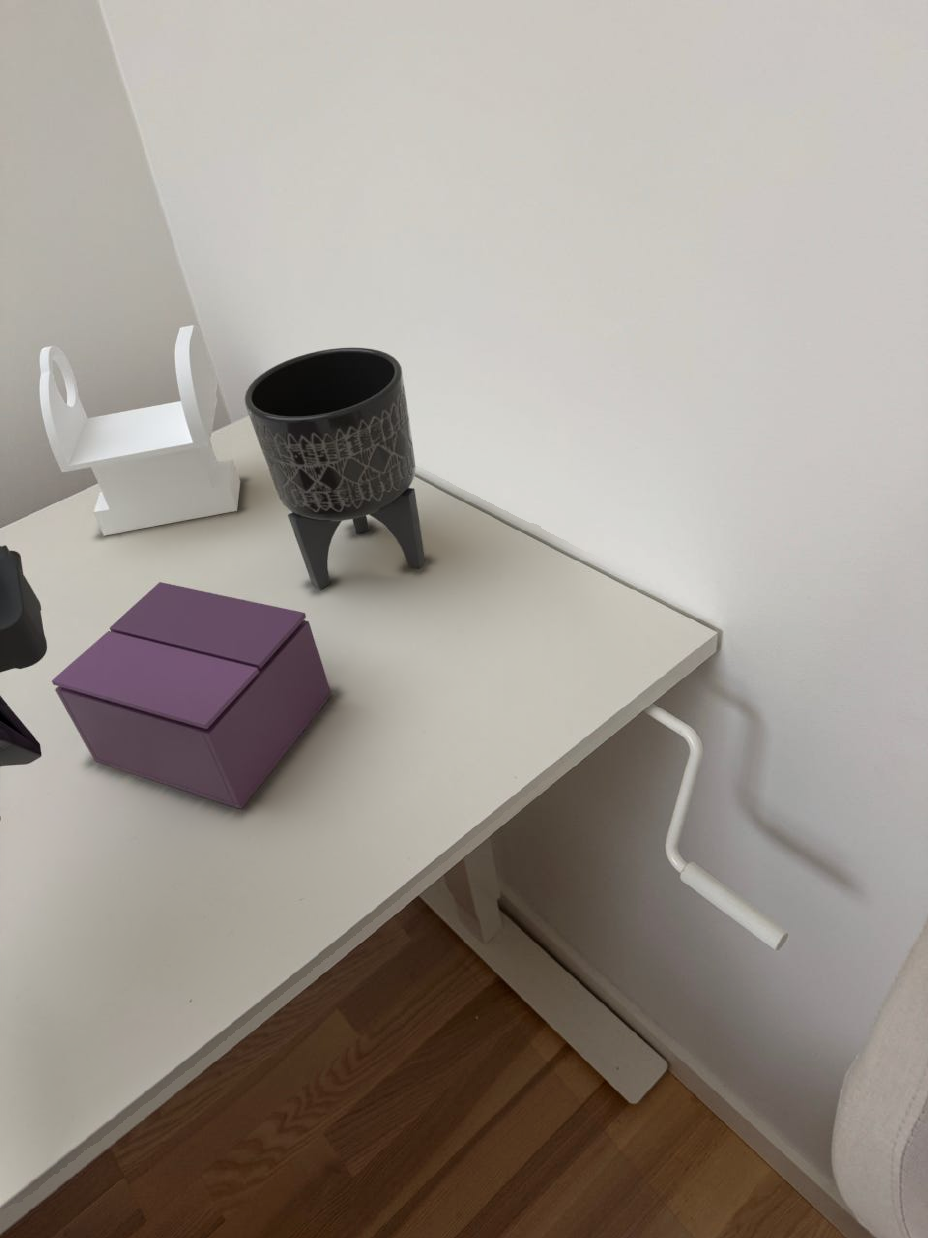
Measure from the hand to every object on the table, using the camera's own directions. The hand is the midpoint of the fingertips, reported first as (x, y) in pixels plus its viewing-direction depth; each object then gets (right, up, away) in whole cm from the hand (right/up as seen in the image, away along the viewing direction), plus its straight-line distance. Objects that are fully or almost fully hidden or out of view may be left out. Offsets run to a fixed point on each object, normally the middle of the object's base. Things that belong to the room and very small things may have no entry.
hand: (34, 755), depth 56 cm
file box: (+6, 0, +18) cm, 19 cm away
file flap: (+4, +4, +11) cm, 12 cm away
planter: (+16, +13, +33) cm, 39 cm away
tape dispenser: (-6, +20, +46) cm, 50 cm away
